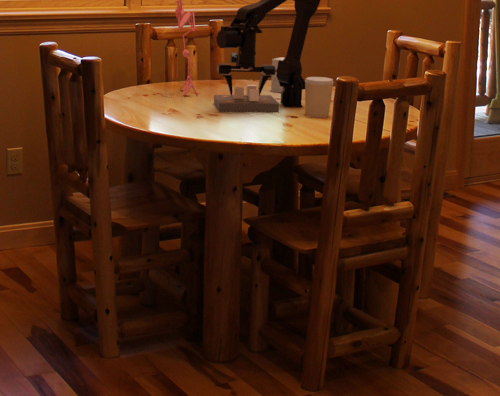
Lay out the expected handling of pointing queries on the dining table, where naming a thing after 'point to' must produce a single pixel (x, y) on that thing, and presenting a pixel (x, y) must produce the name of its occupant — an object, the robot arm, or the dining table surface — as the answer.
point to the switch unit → (245, 104)
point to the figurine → (182, 21)
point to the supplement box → (274, 81)
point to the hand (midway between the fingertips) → (245, 95)
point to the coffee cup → (318, 96)
